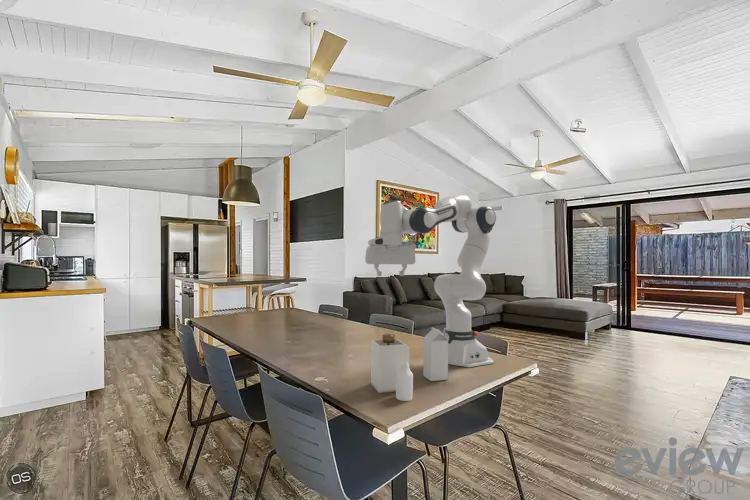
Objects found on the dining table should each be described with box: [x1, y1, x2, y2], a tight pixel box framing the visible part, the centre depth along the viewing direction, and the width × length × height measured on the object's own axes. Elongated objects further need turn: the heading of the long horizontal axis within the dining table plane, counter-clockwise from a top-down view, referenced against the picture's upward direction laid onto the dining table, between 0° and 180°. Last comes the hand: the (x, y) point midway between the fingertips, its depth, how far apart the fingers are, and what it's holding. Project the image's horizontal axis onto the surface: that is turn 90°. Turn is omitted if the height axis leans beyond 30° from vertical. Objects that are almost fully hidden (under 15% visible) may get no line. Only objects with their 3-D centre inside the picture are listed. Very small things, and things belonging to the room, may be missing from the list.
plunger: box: [381, 333, 396, 345], centre depth 135 cm, size 8×8×16 cm
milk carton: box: [422, 327, 449, 382], centre depth 145 cm, size 7×7×19 cm
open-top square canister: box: [370, 338, 410, 394], centre depth 135 cm, size 13×10×16 cm
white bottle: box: [395, 362, 414, 402], centre depth 125 cm, size 6×12×6 cm
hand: (390, 275), depth 149 cm, fingers open, 8 cm apart
